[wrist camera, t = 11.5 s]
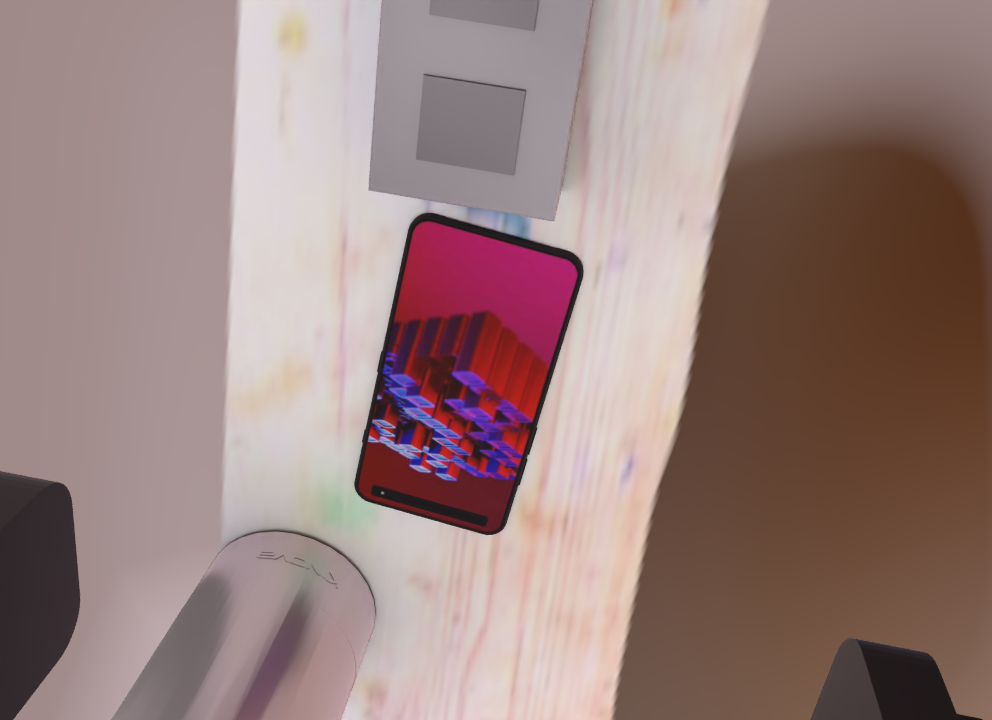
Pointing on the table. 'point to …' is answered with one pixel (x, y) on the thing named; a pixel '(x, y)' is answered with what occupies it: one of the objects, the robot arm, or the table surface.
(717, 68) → the table surface
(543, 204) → the power strip
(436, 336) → the smartphone
